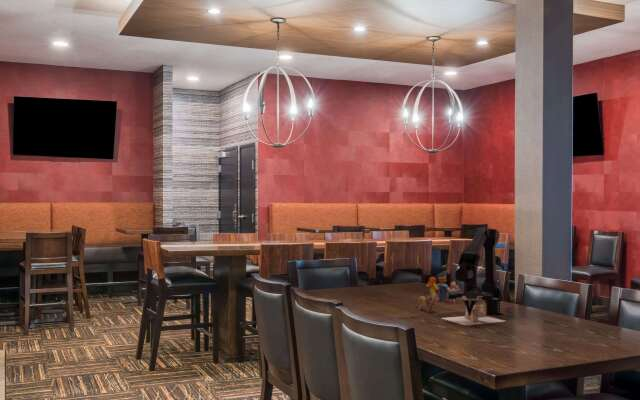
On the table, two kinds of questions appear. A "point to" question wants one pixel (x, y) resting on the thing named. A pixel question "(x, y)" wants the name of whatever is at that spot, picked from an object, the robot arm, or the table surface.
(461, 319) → the board
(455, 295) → the robot arm
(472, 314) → the brown tall flat block
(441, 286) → the doll family
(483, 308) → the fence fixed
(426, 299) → the lion figurine
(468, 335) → the table surface
